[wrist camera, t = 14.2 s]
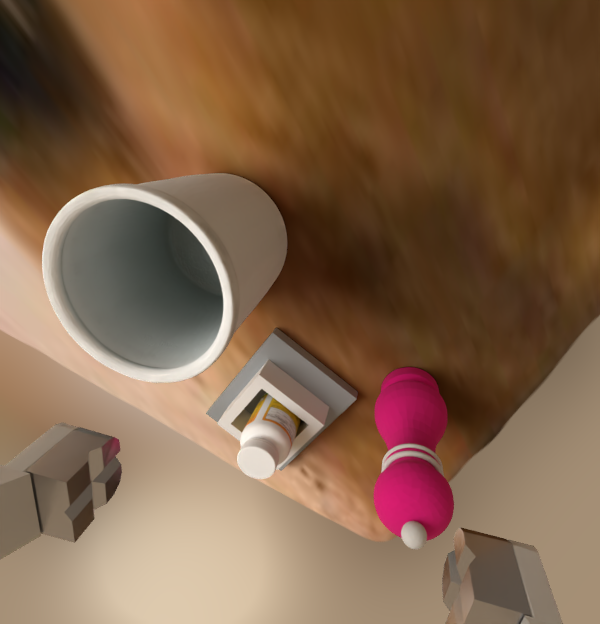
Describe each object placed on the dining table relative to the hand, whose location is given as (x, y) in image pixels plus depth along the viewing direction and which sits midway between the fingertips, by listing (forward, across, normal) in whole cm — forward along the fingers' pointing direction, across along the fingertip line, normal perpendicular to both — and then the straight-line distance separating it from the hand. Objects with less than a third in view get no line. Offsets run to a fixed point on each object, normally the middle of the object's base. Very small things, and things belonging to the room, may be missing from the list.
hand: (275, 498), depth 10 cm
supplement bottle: (+34, +6, +22) cm, 41 cm away
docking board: (+35, +7, +22) cm, 42 cm away
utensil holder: (+35, +15, +4) cm, 38 cm away
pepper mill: (+35, -8, +17) cm, 40 cm away
